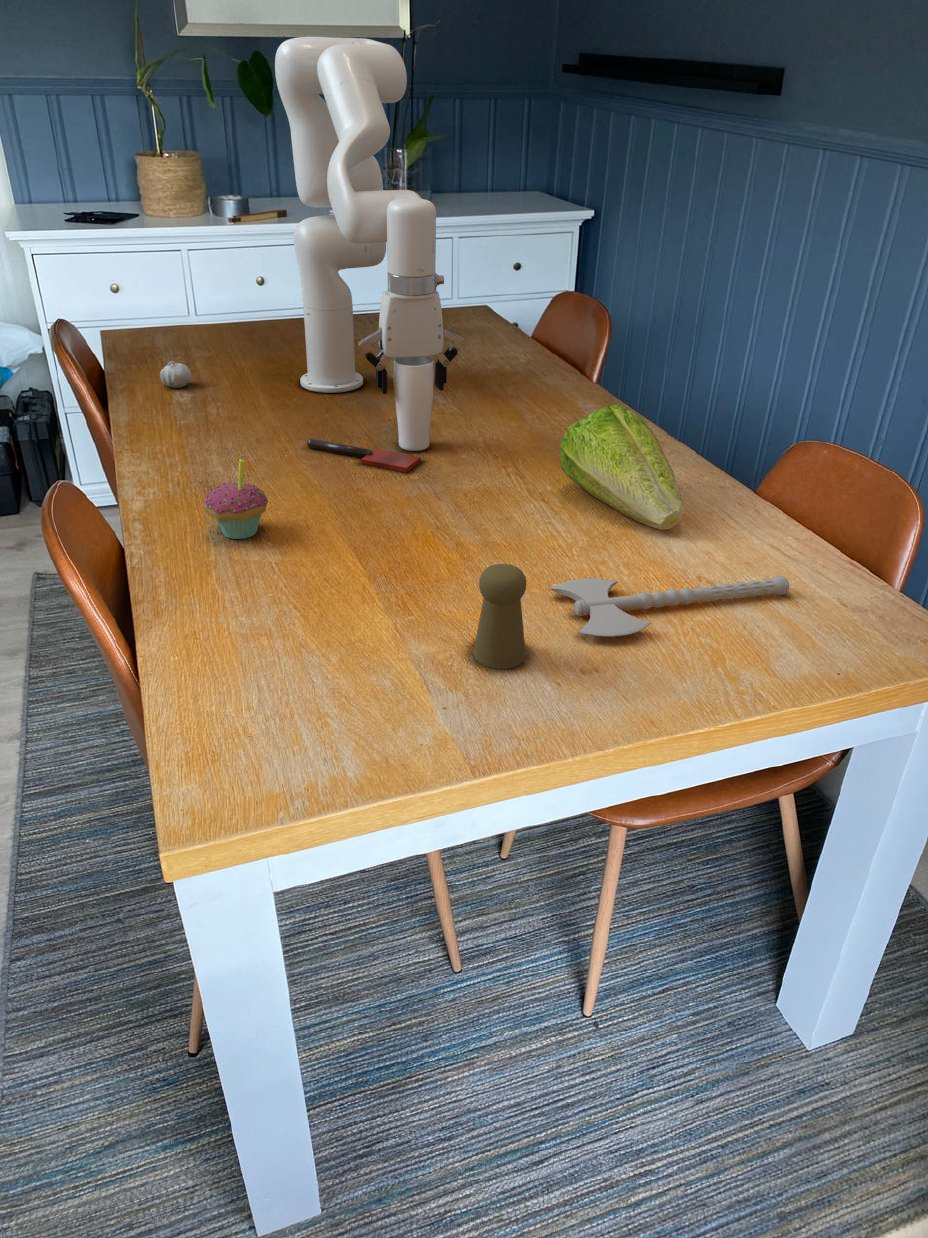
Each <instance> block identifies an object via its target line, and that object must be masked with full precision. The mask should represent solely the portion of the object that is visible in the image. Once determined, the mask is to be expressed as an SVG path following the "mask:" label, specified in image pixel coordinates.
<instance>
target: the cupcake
mask: <svg viewBox="0 0 928 1238" xmlns="http://www.w3.org/2000/svg"><path fill="white" fill-rule="evenodd" d="M244 477H245V459H244V454H242V455H241V458H240V459H239V460H238V482H225V483H221V484H219V485H217V486H215V487H213V488H214V489H211V490H210V491H209V492H208V494H206V497H205V500H204V505H203V508H204V511H205V513H206V514H207V515H208V516H210V517H212V518H213V519H215V521H216V522H217V524H218V526H219V529H220V530H221V533H222V535H223V536H224V537H225V538H228V539H232V540H242V539H247V538H248V539H249V538H250V537H253V536H254V535H256V534H257V532H258V529H259V524H260V522H261V521H260V520H261V517H262V515H263V513H265V512H266V510H267V505H268V503H269V500H268V497H267V495H265V493H264V491H263V490H262V489H260V488H259V487H258V486H256V485H255V484H251V483H249V482H244Z"/></svg>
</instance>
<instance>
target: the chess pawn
mask: <svg viewBox="0 0 928 1238" xmlns="http://www.w3.org/2000/svg"><path fill="white" fill-rule="evenodd" d="M478 588H479V591H480V594H481V596H482V597H483V599H482V602H481V603H482V604H481V608H480V615H479V620H478V624H477V625H478V626H477V629H476V630H477V631H476V637H475V641H474V646H473V654H472V655H473V658H474V660H475V661H476V662H478V663H479V664H480V665H482V666H484V667H487V668H491V669H497V670H505V669H506V670H507V669H512V668H515V667H518V666H519V665H520V664H522V663H523V662H524V661H525V660H526V643H525V631H524V622H523V621H524V619H523V610H522V598H523V597H524V595H525V593H526V589H527V578H526V575H525V574H524V572H523V570H522V569H520V568H519V567H518V566H515V565H512V564H508V563H496V564H492V565H489V566H487V567H485V568H484V570H483V571H482V573H480V577H479V580H478Z"/></svg>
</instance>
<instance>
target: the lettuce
mask: <svg viewBox="0 0 928 1238" xmlns="http://www.w3.org/2000/svg"><path fill="white" fill-rule="evenodd" d="M559 461H560V466H561V471H562V472H563V473H564V474H565V475H566V476H567V477H568V479H569V480H571V481H572V482H573V483H575V484H576V485H577V486H579V487H581V489H583V490H584V491H586V492H587V493H588V494H590V495H591V496H592V497H594V499H597V500H599V501H601V502H603V503H604V504H607V506H610V508H613V509H614V510H616V511H617V512H618V513H620V514H622V515H623V516H625V517H627V518H630V519H632V520H634V521H636V522H638V523H641V524H643V525H645V526H648V527H651V528H653V529H658V530H661V531H664V530H670V529H672V528H673V527H675V526H677V524H679V522H680V521H681V520H682V518H683V516H684V502H683V496H682V493H681V490H680V485H679V483H678V480H677V477H676V474H675V471H674V470H673V468H672V466H671V464H670V462H669V460H668V458H667V457H666V454H665V452H664V450H663V448H662V446H661V444H660V442H659V440H658V438H657V437H656V435H655V434H654V433H653V431H652V430H651V429H650V427H649V426H648V424H647V423H646V421H644V419H642V418H641V417H639V415H637V414H636V413H635V412H633V411H632V410H631V409H630V408H628V407H625V406H623V405H620V404H617V403H615V404H611V405H608V406H605V407H601V408H599V409H596V410H593V411H592V412H591V413H588V414H587V415H586V416H585V417H583V418H581V419H580V420H578V421H576V422H574V423H572V424H571V425H569V426H568V427H567V430H566V431H565V432H564V434H563V436H562V437H561V440H560V442H559Z"/></svg>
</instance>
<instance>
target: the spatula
mask: <svg viewBox="0 0 928 1238" xmlns="http://www.w3.org/2000/svg"><path fill="white" fill-rule="evenodd" d="M306 445H307V447H308V448H310V449H313V450H317V451H318V450H319V451H324V452H329V453H334V454H340V455H345V456H350V457H354V458H355V457H356V458H359V459H360V458H361V460H360V462H361V465H365V466H369V467H376V468H379V469H380V468H381V469H385V470H391V471H395V472H399V473H400V472H401V473H406V474H407V473H409V472H410V471H412V470H413V469H414V468H415V467H416V466H418V465H419V464H420V463H421V462H422V457H421V456H416V455H411V454H408V453H407V454H406V453H401V452H395V451H392V450H391V451H390V450H385V449H380V448H376V449H374V450H372V449H369V448H363V447H358V446H353V445H348V444H342V443H338V442H333V441H326V440H321V439H317V438H309V439H308V440H307V442H306Z"/></svg>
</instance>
